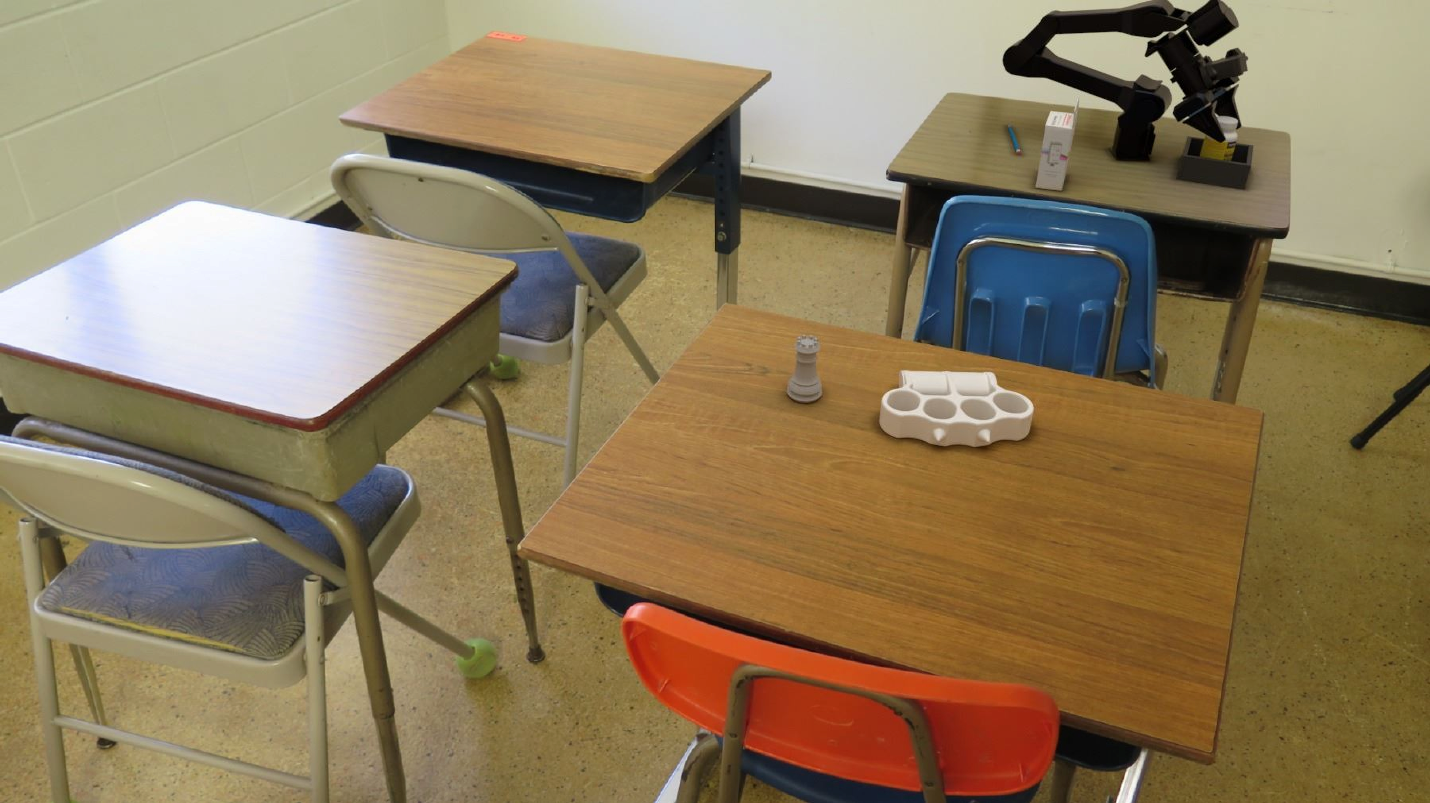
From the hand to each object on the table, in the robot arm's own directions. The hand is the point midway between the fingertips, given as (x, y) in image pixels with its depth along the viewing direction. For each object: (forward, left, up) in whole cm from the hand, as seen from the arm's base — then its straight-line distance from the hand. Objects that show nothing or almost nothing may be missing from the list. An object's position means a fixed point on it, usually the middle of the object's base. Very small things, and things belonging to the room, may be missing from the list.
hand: (1231, 134), depth 191 cm
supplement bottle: (-1, +1, -7) cm, 8 cm away
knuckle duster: (-59, -85, -8) cm, 104 cm away
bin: (-1, +1, -8) cm, 8 cm away
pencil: (-35, +16, -8) cm, 40 cm away
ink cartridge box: (-32, -6, -8) cm, 34 cm away
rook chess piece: (-77, -81, -8) cm, 112 cm away
